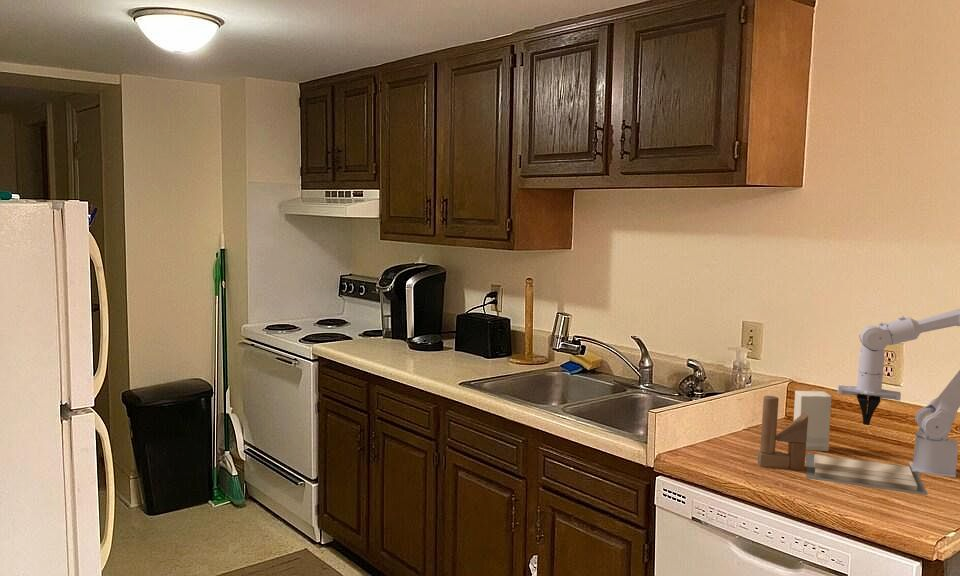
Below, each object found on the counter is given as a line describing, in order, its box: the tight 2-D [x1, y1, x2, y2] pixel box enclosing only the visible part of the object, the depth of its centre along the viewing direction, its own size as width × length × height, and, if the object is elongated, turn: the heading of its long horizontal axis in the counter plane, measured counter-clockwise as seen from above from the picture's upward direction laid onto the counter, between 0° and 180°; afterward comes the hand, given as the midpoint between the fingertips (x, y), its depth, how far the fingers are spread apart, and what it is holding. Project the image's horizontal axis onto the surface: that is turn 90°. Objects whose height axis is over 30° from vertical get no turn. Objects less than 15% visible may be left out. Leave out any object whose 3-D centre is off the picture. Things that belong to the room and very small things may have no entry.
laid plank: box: [815, 463, 917, 491], centre depth 192 cm, size 22×8×1 cm, turn 68°
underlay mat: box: [805, 452, 929, 496], centre depth 197 cm, size 26×22×1 cm
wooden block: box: [757, 395, 808, 471], centre depth 200 cm, size 4×11×18 cm, turn 82°
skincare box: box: [793, 390, 833, 452], centre depth 218 cm, size 8×7×16 cm
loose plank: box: [814, 453, 913, 476], centre depth 200 cm, size 22×8×1 cm, turn 68°
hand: (866, 424), depth 205 cm, fingers closed
